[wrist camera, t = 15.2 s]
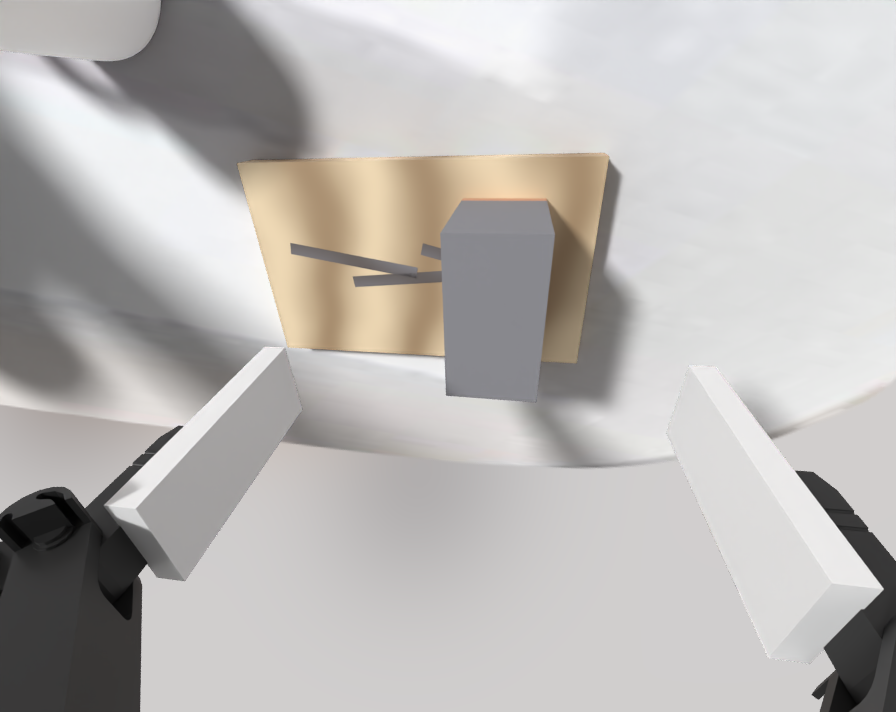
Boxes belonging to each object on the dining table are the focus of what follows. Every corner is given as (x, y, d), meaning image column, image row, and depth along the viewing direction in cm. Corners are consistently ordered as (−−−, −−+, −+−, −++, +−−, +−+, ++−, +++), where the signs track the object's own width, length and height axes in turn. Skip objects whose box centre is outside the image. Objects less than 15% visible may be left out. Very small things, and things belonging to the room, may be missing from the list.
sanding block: (463, 329, 26) (446, 395, 20) (462, 198, 22) (440, 233, 16) (533, 333, 25) (536, 402, 19) (546, 198, 21) (555, 234, 15)
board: (297, 337, 30) (287, 347, 29) (251, 160, 24) (236, 163, 23) (574, 351, 27) (576, 363, 26) (604, 152, 21) (609, 156, 20)
